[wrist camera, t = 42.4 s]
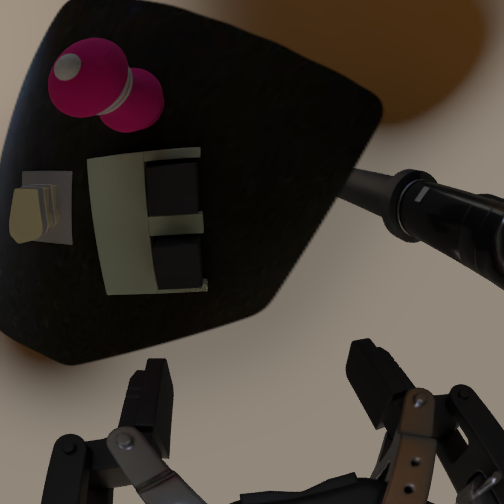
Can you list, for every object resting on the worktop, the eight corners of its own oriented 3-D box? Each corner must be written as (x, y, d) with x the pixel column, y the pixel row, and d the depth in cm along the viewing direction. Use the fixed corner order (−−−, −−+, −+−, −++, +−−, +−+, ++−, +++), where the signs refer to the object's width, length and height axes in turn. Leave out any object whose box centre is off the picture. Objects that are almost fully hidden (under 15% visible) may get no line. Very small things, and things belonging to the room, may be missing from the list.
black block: (199, 234, 36) (198, 244, 32) (202, 274, 38) (202, 287, 34) (157, 237, 35) (151, 247, 32) (162, 276, 37) (158, 290, 34)
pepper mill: (102, 121, 29) (0, 105, 11) (130, 70, 28) (55, 4, 9) (150, 143, 31) (76, 140, 13) (179, 91, 30) (141, 25, 11)
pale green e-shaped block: (200, 147, 32) (199, 147, 31) (207, 286, 39) (207, 291, 37) (91, 158, 31) (86, 159, 29) (110, 290, 37) (106, 295, 35)
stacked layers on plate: (22, 171, 29) (0, 176, 24) (72, 171, 31) (52, 175, 26) (24, 239, 32) (4, 252, 27) (72, 244, 34) (54, 259, 29)
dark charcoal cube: (197, 162, 33) (195, 163, 29) (199, 206, 35) (197, 213, 31) (153, 165, 32) (145, 167, 29) (156, 209, 34) (149, 216, 30)
